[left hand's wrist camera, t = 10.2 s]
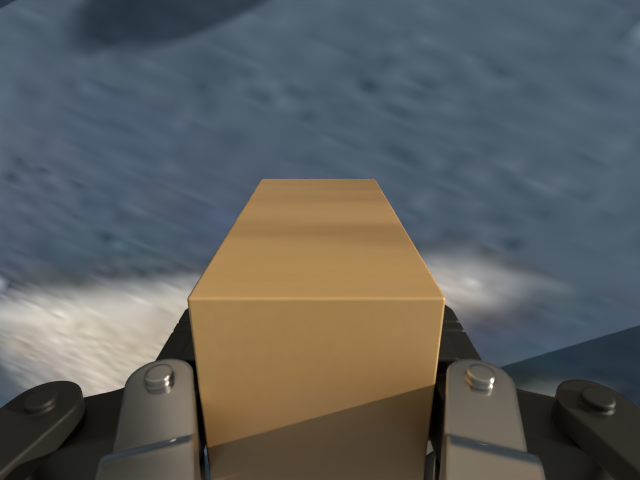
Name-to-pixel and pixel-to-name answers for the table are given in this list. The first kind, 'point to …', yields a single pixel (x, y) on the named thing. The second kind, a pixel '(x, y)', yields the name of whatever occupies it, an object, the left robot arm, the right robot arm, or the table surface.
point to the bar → (316, 338)
